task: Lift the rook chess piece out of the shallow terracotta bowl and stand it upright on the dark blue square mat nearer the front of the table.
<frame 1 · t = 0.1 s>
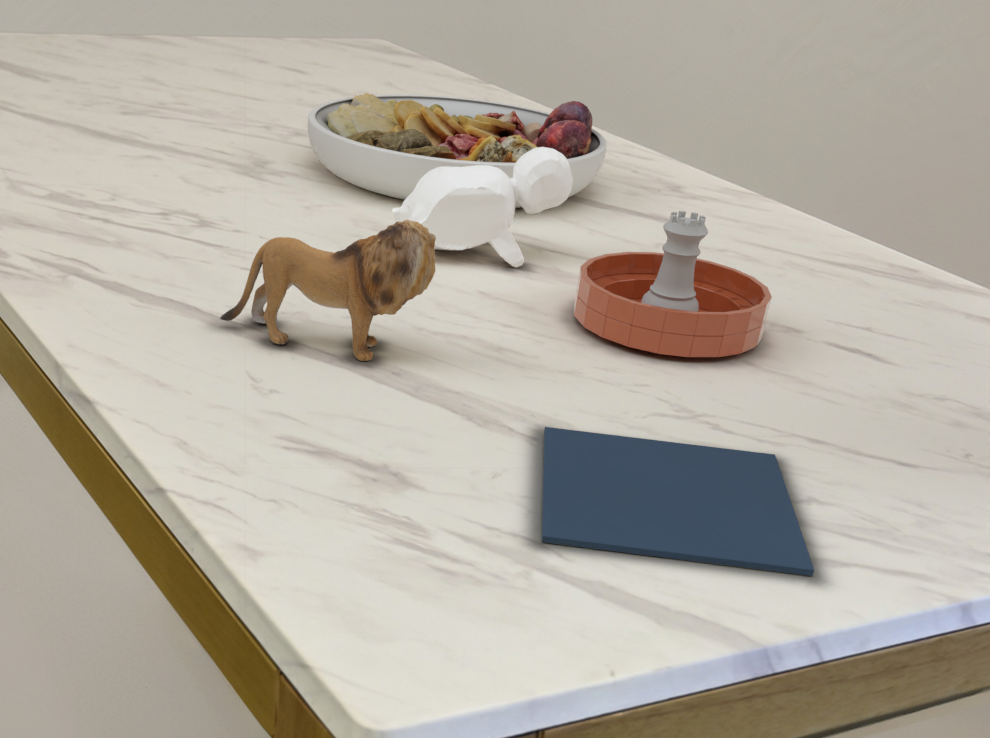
bowl: (452, 178, 130), on the table
rook chess piece: (665, 324, 96), resting on terracotta bowl
dark blue square mat: (666, 498, 71), on the table
white animal figurine: (477, 253, 109), on the table
terracotta bowl: (665, 327, 96), on the table
lion figurine: (330, 344, 88), on the table
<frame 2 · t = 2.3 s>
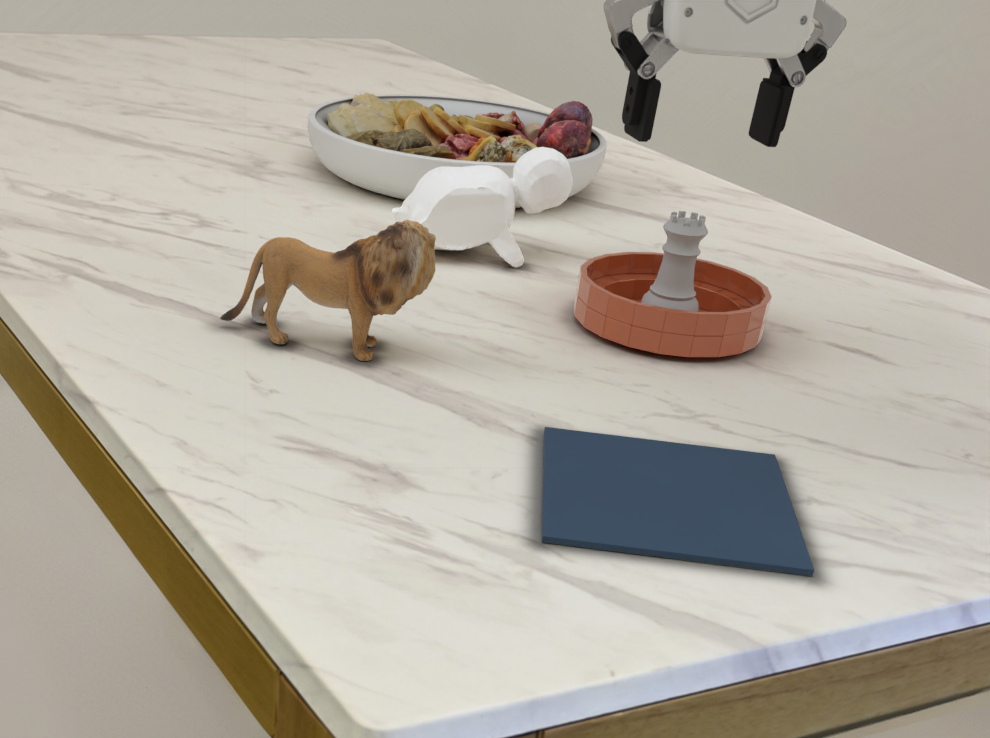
hand: (699, 139, 89), 14 cm above the table, tool pointing down, fingers open, 9 cm apart
nothing on the table moved.
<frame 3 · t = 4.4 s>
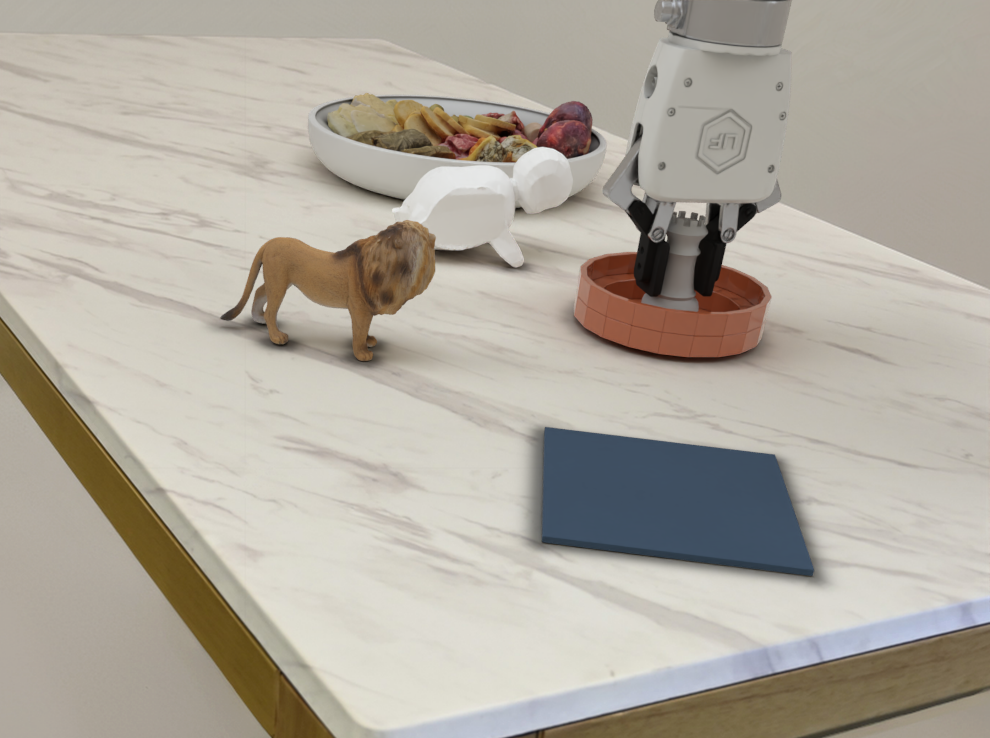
hand: (673, 288, 94), 3 cm above the table, tool pointing down, fingers closed on rook chess piece, 3 cm apart
rook chess piece: (665, 324, 96), resting on terracotta bowl, touching gripper
everything else where it was.
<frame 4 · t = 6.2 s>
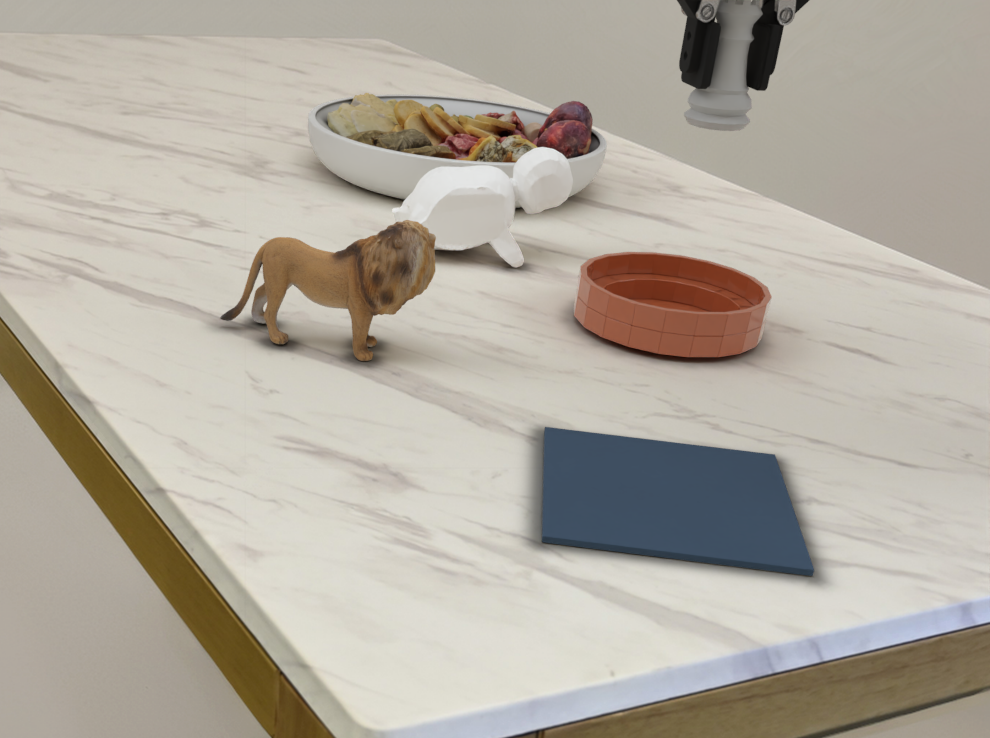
hand: (723, 83, 84), 18 cm above the table, tool pointing down, fingers closed on rook chess piece, 3 cm apart
rook chess piece: (714, 127, 86), point 15 cm above the table, touching gripper
everything else where it was.
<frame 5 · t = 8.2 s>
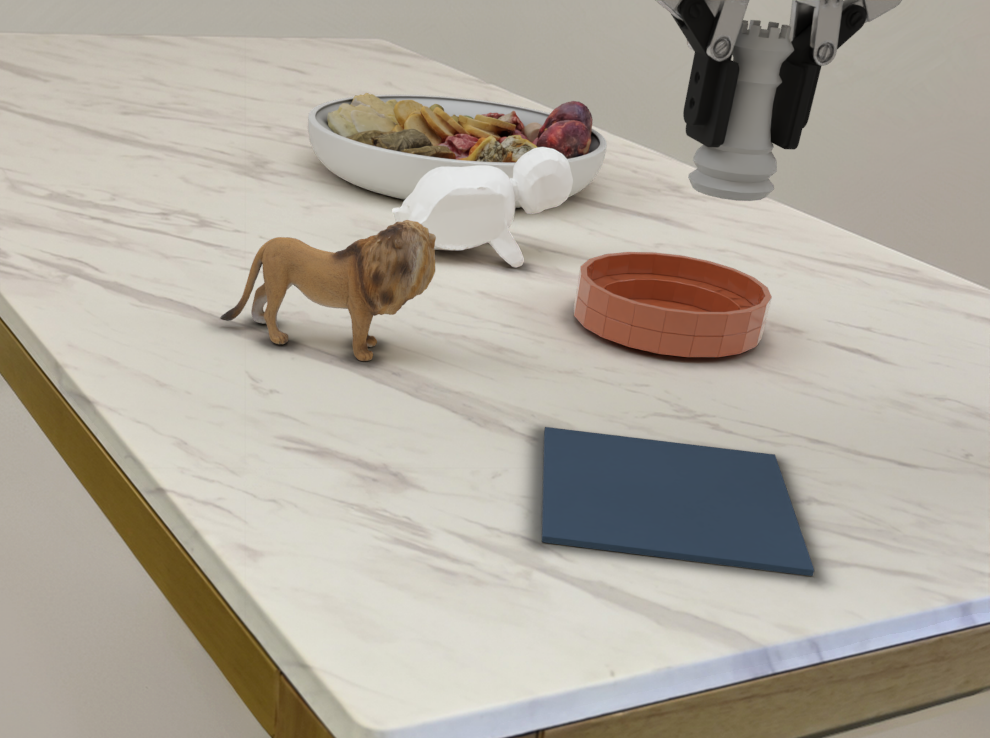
hand: (740, 138, 65), 19 cm above the table, tool pointing down, fingers closed on rook chess piece, 3 cm apart
rook chess piece: (728, 194, 66), point 16 cm above the table, touching gripper
everything else where it was.
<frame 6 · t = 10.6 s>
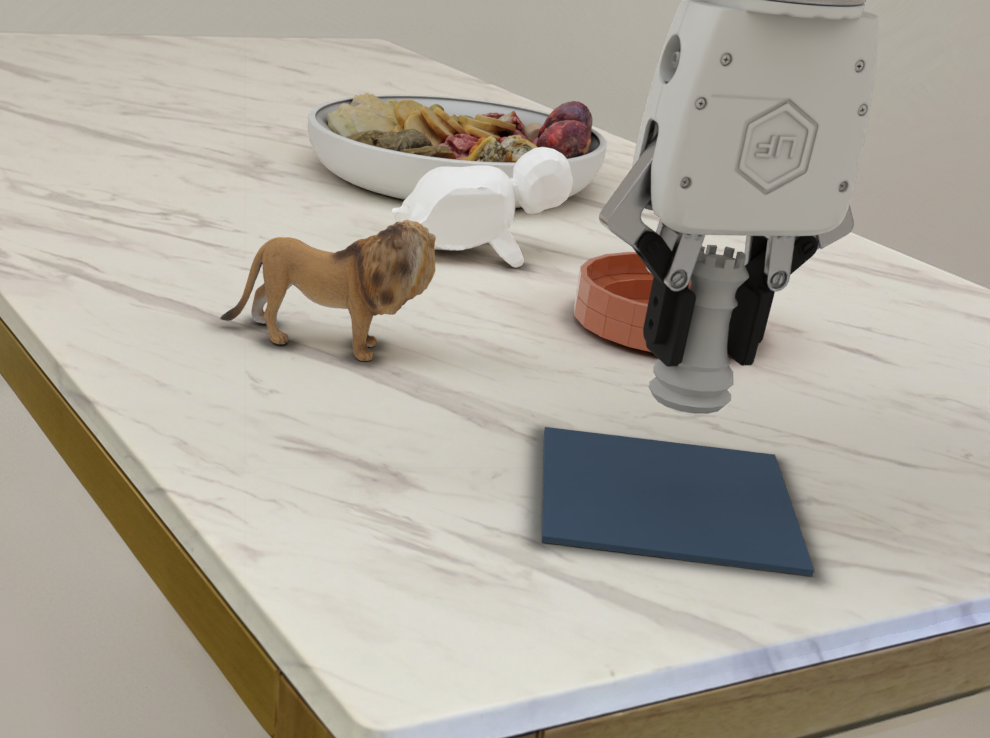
hand: (698, 353, 67), 9 cm above the table, tool pointing down, fingers closed on rook chess piece, 3 cm apart
rook chess piece: (687, 402, 68), point 6 cm above the table, touching gripper
everything else where it was.
when the fingers open (3 cm above the table, at t = 12.2 s): rook chess piece stays where it is, resting on dark blue square mat.
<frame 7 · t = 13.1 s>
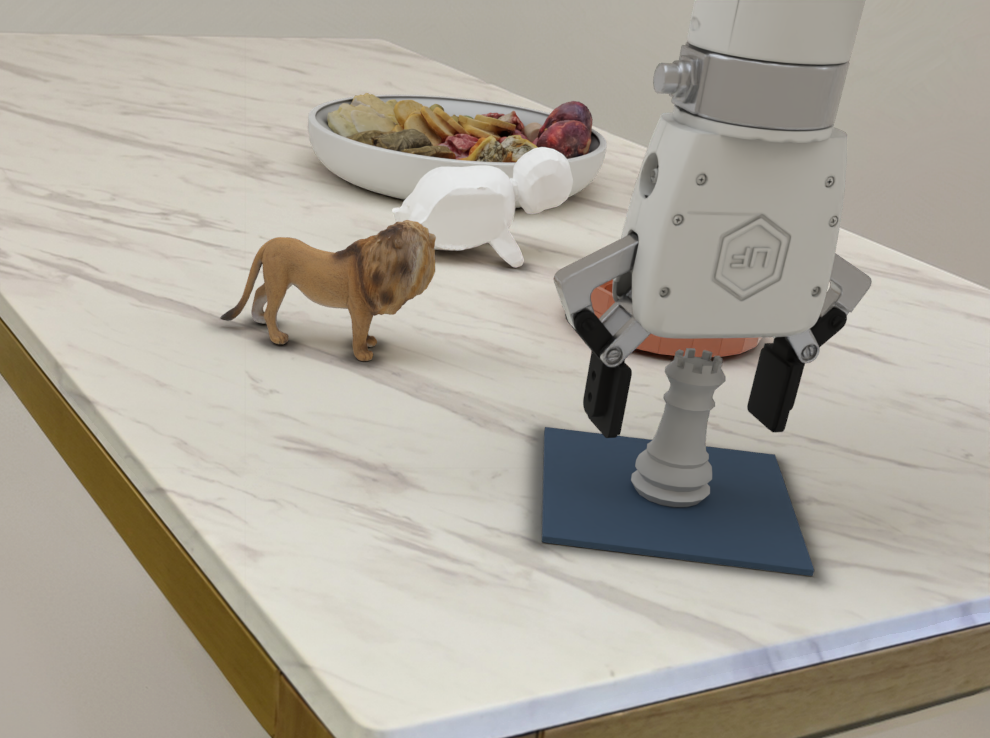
hand: (684, 424, 69), 5 cm above the table, tool pointing down, fingers open, 9 cm apart
rook chess piece: (668, 494, 71), resting on dark blue square mat
everything else where it was.
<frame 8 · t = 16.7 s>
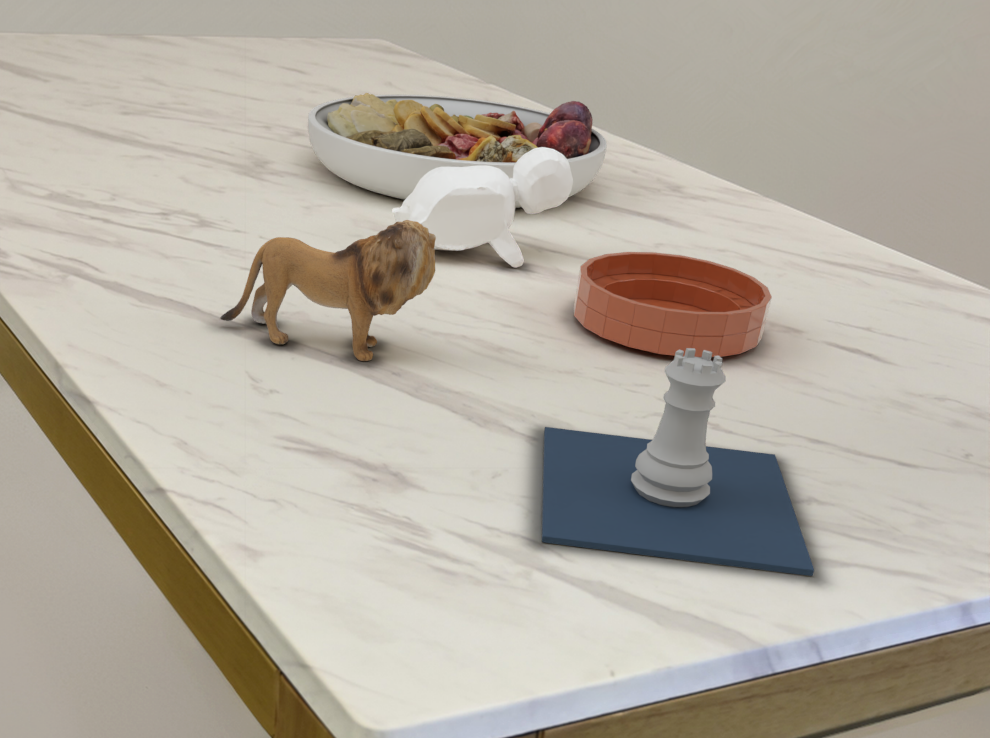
nothing on the table moved.
at the end: rook chess piece inside the target area on the dark blue square mat (0.0 cm from its centre), point 0.2 cm above the dark blue square mat's base; rook chess piece tilted 0°; the gripper is holding nothing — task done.
